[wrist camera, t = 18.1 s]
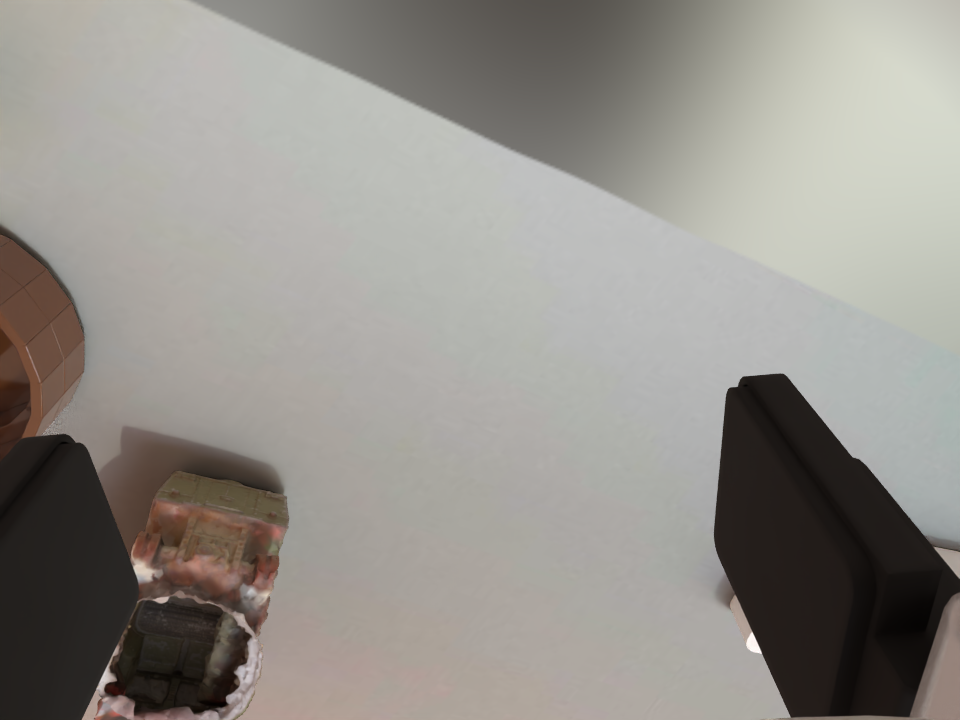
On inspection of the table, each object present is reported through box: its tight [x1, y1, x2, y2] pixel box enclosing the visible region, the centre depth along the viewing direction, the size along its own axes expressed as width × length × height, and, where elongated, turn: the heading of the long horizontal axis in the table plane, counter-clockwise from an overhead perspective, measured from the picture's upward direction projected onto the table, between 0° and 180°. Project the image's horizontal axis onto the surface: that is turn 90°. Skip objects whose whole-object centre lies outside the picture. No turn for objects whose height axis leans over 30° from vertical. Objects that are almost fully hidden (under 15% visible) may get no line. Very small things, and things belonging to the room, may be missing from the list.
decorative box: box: [94, 471, 289, 720], centre depth 50 cm, size 13×20×10 cm, turn 153°
